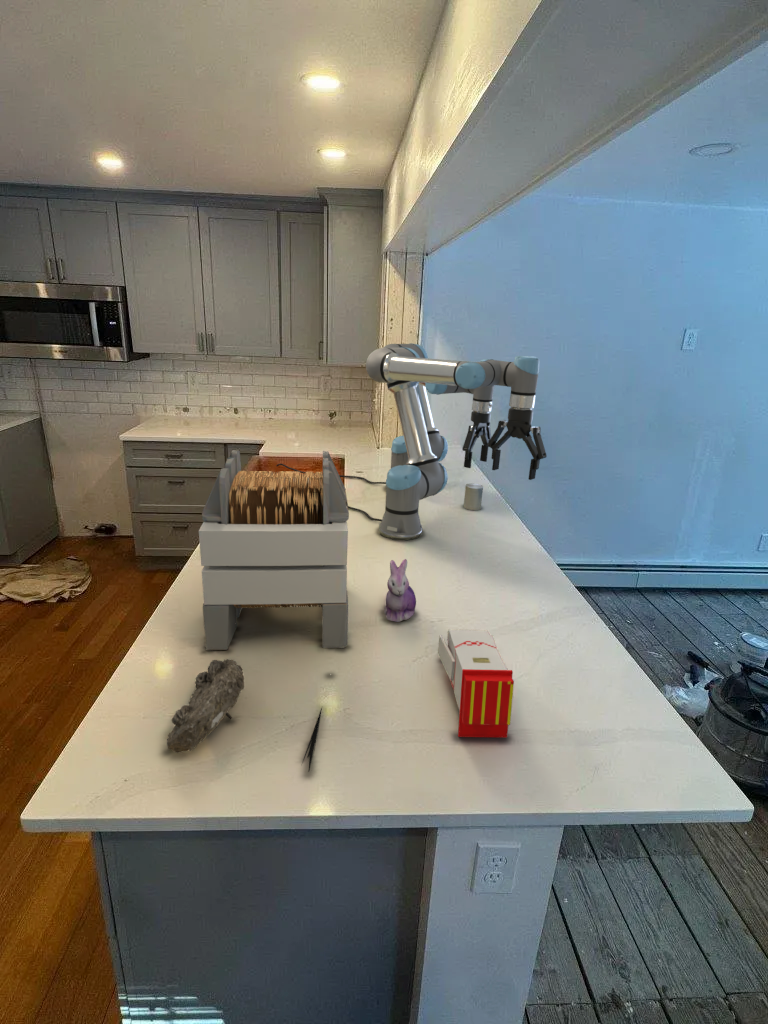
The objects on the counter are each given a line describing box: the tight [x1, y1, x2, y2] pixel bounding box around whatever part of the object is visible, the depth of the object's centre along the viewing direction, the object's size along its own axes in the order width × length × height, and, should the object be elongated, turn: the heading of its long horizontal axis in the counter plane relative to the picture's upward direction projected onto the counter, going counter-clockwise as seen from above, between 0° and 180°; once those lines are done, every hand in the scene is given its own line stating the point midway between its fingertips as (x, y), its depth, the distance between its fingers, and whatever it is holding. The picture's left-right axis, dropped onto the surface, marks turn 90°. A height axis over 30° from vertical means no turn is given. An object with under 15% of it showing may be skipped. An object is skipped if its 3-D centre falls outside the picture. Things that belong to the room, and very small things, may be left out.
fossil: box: [166, 658, 245, 754], centre depth 106 cm, size 22×10×15 cm
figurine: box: [384, 558, 417, 623], centre depth 145 cm, size 9×10×15 cm
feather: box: [301, 673, 332, 771], centre depth 108 cm, size 2×28×2 cm
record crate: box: [198, 449, 350, 651], centre depth 138 cm, size 34×33×41 cm
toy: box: [437, 628, 515, 738], centre depth 117 cm, size 12×13×30 cm
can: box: [463, 482, 484, 511], centre depth 229 cm, size 7×7×9 cm
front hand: (513, 474), depth 182 cm, fingers open, 13 cm apart
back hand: (475, 464), depth 228 cm, fingers open, 13 cm apart
